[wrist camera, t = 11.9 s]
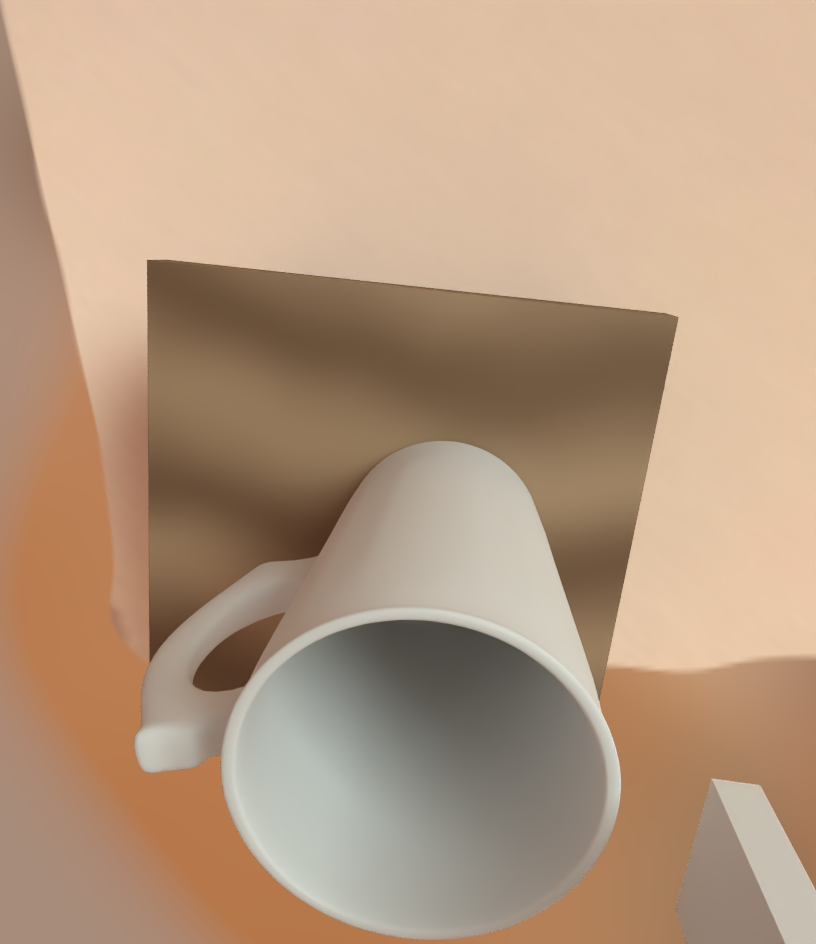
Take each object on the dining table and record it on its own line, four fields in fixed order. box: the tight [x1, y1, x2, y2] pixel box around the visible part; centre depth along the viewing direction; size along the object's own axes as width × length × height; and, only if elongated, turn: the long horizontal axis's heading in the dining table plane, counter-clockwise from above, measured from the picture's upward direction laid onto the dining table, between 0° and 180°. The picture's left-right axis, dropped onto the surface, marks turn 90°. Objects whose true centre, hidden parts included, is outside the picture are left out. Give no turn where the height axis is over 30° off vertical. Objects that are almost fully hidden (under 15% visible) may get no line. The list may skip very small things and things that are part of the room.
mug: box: [134, 441, 621, 940], centre depth 18 cm, size 10×7×12 cm, turn 96°
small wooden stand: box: [147, 260, 678, 699], centre depth 29 cm, size 16×16×10 cm
